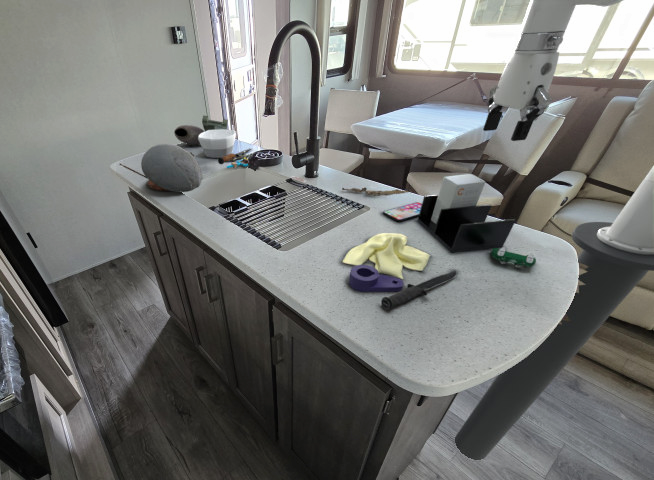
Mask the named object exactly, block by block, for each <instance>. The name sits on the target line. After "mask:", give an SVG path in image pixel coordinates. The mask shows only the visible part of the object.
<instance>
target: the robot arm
mask: <svg viewBox="0 0 654 480" xmlns="http://www.w3.org/2000/svg"><path fill="white" fill-rule="evenodd" d="M623 1H624V0H530V1H529V3H528V6H527V9H526V12H525V15H524V17H523V20H522V23H521V27H520V29H519V32H518V35H517V38H516V42H515V44H514V47H513V50H512V52H511V54H510V56H509V58H508V59H507V63H506V64H505V67H504V68H503V71H502V74H501V75H500V78H499V81H498V84H497V85H495V86H493V87H492V88H490V89H489V92H488V93H489V94H488V100H487V104H488V107H487V112H488V113H487V117H486V120H485V122H484V125H483V129H482V131H484V132H489V131H496V130H497V129H498V128H499V124H500V121H501V119H502V115H503V113H504V112H503V111H502V110H503V109H504V108H508V109H512V110H516V111H517V110H518V111H519V114H520V120H518V121H517V122H516V125H515V127H514V130H513V132H512V135H511V137H510V141H513V142H518V141H525V140H526V139H527V138H528V135H529V133H530V130H531V128H532V126H533V124H534V121H537V120H538V118H539V117H540V116H541V115H543V114H544V113H545V111H546V109H548V107H549V106H550V105H551V104H552V102H553V99H552V97H551V96H550V94H549V91H550V88H551V85H552V82H553V80H554V76H555V74H556V69H557V66H558V61H559V56H560V51H558V50H559V47H560V45H561V44H562V43H563V41H564V38H563V37H564V35H565V33H566V30H567V29H568V25H569V23H570V20H571V18H572V15H573V13H574V11H575V9H576V7H577V8H580V9H588V8H605V7H609V6H610V7H611V6H614V5H616V4H618V3H621V2H623ZM528 111H529V112H528ZM612 223H613V224H612V225H611V227H604V228H601V229H600V230H599V231H598V232H597V237H598V238H599V239H600V240H601V241H602V242H604V243H605V244H607V245H609V246H611V247H614V248H616V249H619V250H623V251H626V252H630V253H636V254H643V255H654V165H653V166H652V167H651V168H650V170H649V172H648V173H647V174H646V176H645V177H644V179H643V180H642V181H641V182H640V183H639V185H638V187H637V188H636V190H635V191H634V193H633V194H632V195H631V197H630V198H629V200H628V201H627V202H626V204H625V205H624V206H623V208H622V209H621V211H620V213H619V214H618V215H617V216H616V218H615V220H614V221H613V222H612Z"/></svg>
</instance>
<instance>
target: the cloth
mask: <svg viewBox="0 0 654 480" xmlns="http://www.w3.org/2000/svg"><path fill="white" fill-rule="evenodd" d="M407 243H408V236H406V235H404V234H403V233H390V232H389V233H388V232H387V233H386V232H383V233H382V232H381V233H378V234H375V235H374V236H372V237H369V239H368V240H367V241H366V242H364V243H361V244H359V245H356V246H354V247H353V248H351V249H350V250H349V251H348V252H347V253H346V255H345V256H344V258H343V260H342V263H343V264H348V265H349V266H351V265H352V266H356V265H364V264H365V262H367V261H368V260H369V262H372V263H374V264H375V266H374V268H375V269H377V270H378V272H379V274H383V275H387V276H391V277H396V278H399V279H401V280H403V279H404V276H403V274H402V271H403V267H404V268H406V269H408V270H412V271H419V272H422V271H423V270H424V269H425V267H426V266H427V265H428V262H429V260H430V257H431V255H430V254H428V253H427V252H425V251H423V250H420V249H418V248H415V247H413V246H411V245H406V244H407Z"/></svg>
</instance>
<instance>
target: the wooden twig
mask: <svg viewBox="0 0 654 480" xmlns="http://www.w3.org/2000/svg"><path fill="white" fill-rule="evenodd" d="M341 189H342V190H341V191H347V192H354V193H365V194H366V195H367V196H369V197H381V196H385V197H388V196H393V195H401V194H406V193H411V194H412V193H413V191H412V190H411V189H410V190H403V189H392V190H368V188H367V187H362V188H361V189H360V188H356V187H352V188H344V187H341ZM401 190H402V191H401Z"/></svg>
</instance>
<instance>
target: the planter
mask: <svg viewBox="0 0 654 480" xmlns="http://www.w3.org/2000/svg"><path fill="white" fill-rule="evenodd" d="M203 132H205V130H204V129H202V128H201V127H199V126H198V125H197V126H196V125H192V124H190V125H189V124H184V125H183V124H182V125H179V126H177V127H175V129H174V132H173V133H174V136H175V138H176V139H177V140H178V141H180V142H181V143H184V144H186V143H187V144H186V145H188V146H199V145H201V144H200V142H199V140H198V136H199V135H200V134H201V133H203Z"/></svg>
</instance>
